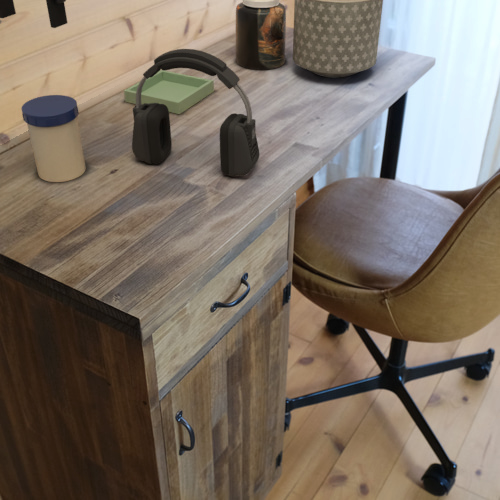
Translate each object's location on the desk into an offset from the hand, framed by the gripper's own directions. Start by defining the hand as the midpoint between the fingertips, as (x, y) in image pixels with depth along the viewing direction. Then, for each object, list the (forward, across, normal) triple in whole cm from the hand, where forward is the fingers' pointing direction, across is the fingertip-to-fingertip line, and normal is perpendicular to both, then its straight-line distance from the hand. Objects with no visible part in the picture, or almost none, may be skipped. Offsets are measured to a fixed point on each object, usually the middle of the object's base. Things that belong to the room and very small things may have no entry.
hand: (32, 20), depth 97 cm
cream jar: (+26, 0, 0) cm, 26 cm away
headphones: (+26, -19, -13) cm, 34 cm away
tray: (+26, +2, -36) cm, 44 cm away
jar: (+26, -5, -64) cm, 69 cm away
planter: (+26, -23, -66) cm, 74 cm away
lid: (+14, 0, 0) cm, 14 cm away
